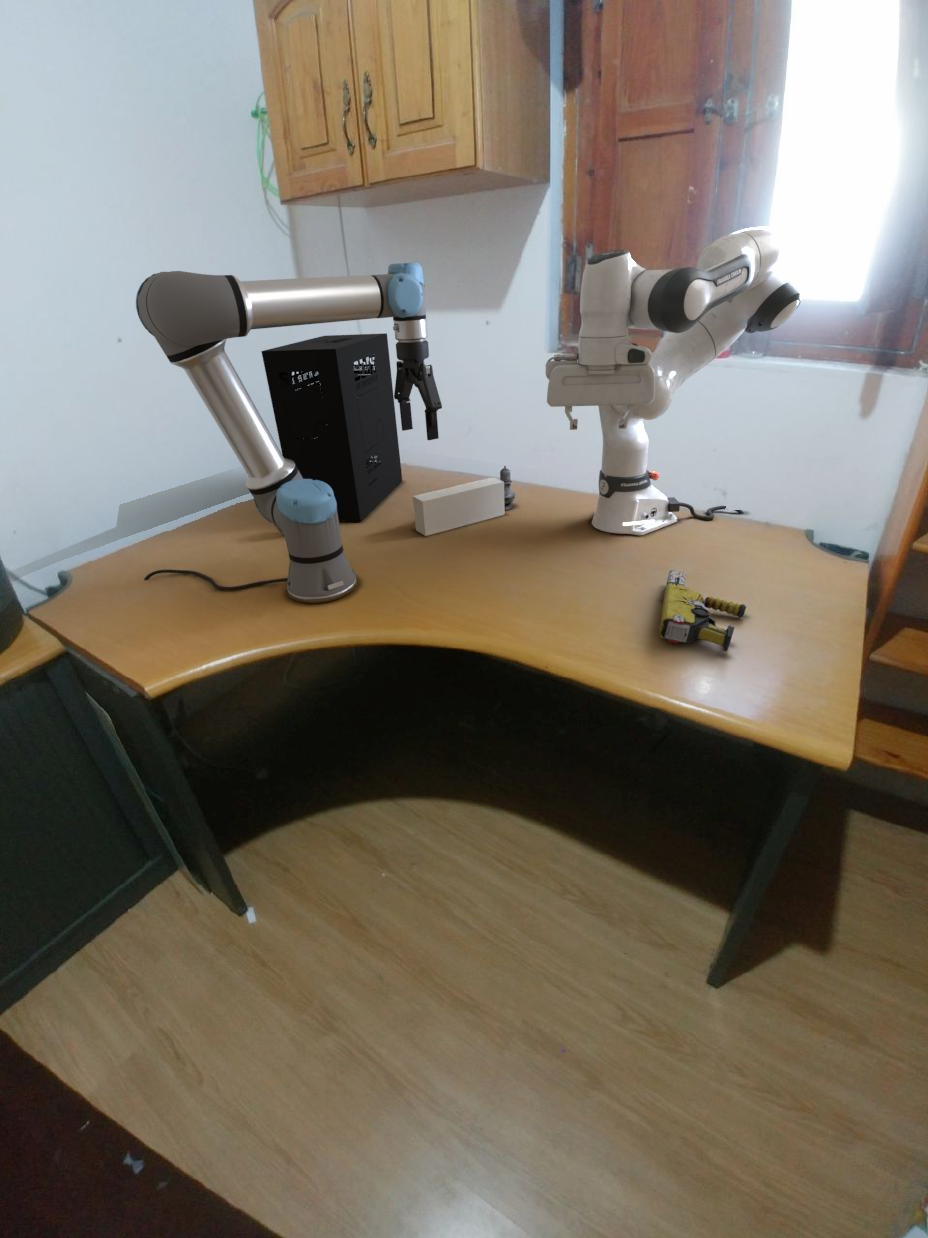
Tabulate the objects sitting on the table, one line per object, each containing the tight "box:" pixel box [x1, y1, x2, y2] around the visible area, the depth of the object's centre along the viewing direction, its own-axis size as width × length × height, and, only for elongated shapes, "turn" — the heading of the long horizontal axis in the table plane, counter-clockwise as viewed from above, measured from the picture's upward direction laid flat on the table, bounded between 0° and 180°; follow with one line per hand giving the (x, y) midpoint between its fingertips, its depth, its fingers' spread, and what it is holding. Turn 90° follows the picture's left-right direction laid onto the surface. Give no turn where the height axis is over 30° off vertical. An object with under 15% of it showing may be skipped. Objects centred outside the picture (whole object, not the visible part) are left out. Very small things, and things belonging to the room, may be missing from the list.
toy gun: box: [659, 569, 747, 652], centre depth 114 cm, size 5×24×15 cm
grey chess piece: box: [499, 465, 517, 511], centre depth 172 cm, size 6×6×12 cm
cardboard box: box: [260, 333, 403, 523], centre depth 177 cm, size 38×20×45 cm, turn 167°
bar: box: [412, 476, 506, 537], centre depth 164 cm, size 25×6×10 cm, turn 121°
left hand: (419, 434), depth 149 cm, fingers open, 13 cm apart
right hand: (597, 428), depth 119 cm, fingers open, 8 cm apart
